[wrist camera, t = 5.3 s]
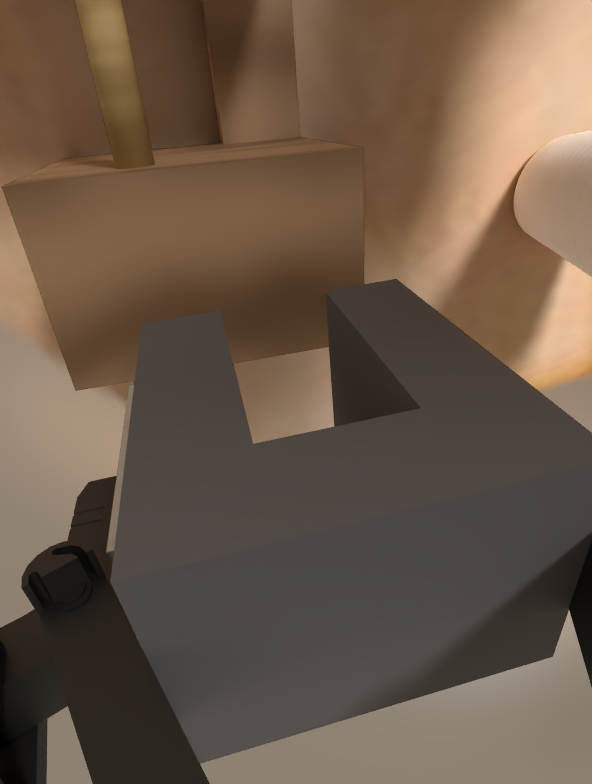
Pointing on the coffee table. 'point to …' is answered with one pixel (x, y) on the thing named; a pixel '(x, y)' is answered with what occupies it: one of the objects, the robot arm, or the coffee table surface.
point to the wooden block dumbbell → (194, 206)
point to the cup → (559, 198)
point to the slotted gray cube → (344, 524)
